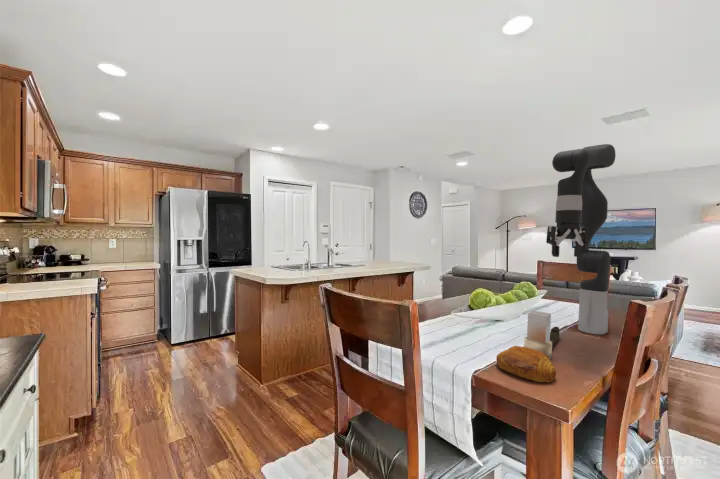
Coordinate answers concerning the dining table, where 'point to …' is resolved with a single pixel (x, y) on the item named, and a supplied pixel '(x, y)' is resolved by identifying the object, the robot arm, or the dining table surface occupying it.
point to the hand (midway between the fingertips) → (566, 256)
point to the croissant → (527, 364)
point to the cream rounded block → (539, 347)
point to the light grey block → (538, 327)
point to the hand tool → (554, 335)
